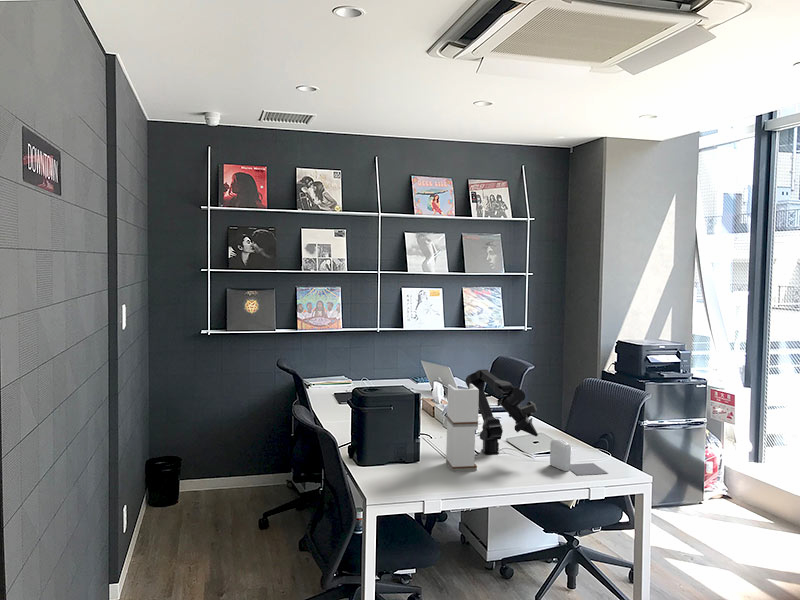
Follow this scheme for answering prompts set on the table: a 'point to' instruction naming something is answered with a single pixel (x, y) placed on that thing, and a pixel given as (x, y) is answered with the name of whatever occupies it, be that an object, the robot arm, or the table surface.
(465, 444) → the stacked white pillar
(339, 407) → the table surface
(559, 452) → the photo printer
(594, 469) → the mat
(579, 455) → the table surface
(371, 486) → the table surface
